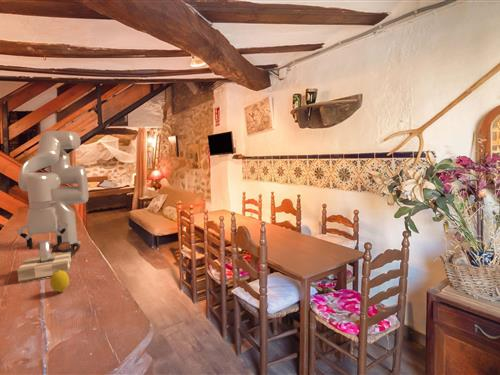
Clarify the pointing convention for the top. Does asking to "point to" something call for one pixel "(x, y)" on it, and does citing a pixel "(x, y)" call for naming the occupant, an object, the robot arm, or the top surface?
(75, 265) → the top surface
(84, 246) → the top surface
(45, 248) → the pin
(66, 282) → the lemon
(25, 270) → the bore block
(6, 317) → the top surface
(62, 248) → the pottery mug
